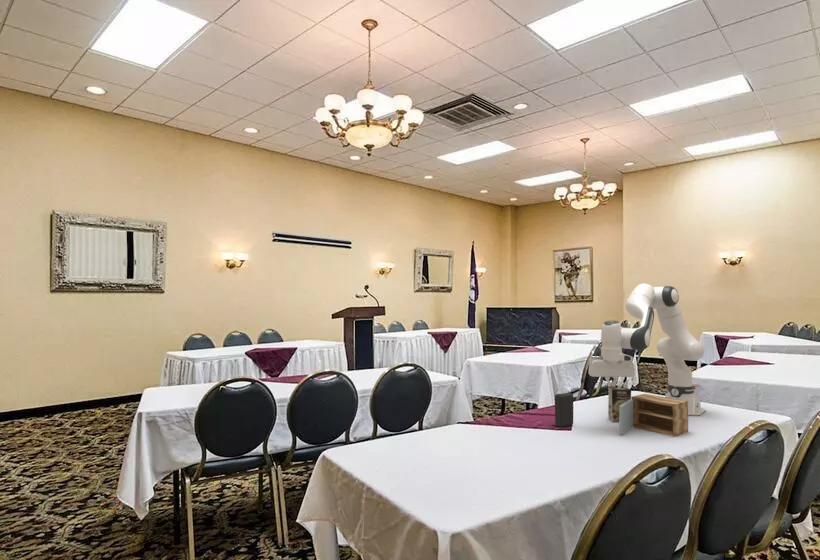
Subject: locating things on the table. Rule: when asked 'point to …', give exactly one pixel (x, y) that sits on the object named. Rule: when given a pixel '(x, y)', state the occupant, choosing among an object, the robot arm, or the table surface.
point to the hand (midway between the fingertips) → (611, 386)
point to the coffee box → (617, 401)
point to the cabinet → (660, 414)
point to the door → (625, 416)
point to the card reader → (563, 409)
